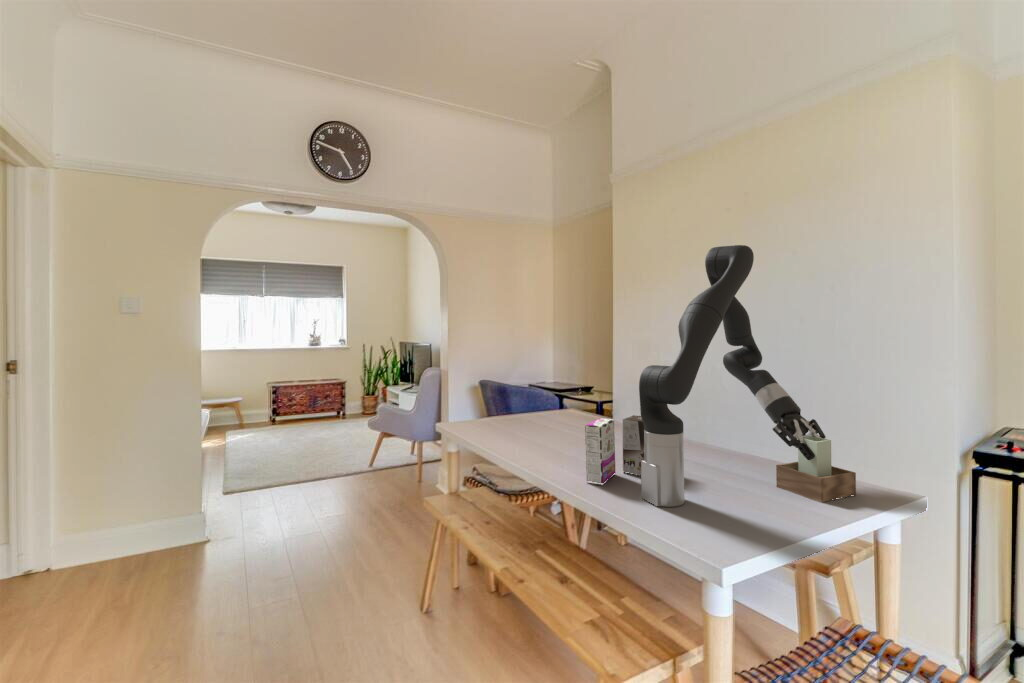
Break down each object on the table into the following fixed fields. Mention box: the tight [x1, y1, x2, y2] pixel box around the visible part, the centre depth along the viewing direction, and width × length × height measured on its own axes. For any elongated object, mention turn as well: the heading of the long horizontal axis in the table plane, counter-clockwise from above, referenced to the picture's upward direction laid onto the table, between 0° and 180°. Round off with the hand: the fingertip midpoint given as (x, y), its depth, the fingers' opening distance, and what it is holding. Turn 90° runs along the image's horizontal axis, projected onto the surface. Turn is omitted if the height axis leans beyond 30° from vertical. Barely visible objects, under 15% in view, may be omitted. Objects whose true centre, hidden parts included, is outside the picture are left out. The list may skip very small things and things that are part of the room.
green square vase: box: [797, 436, 832, 477], centre depth 113 cm, size 5×5×10 cm
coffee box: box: [622, 414, 644, 476], centre depth 132 cm, size 9×6×16 cm
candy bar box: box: [584, 417, 616, 483], centre depth 125 cm, size 11×5×16 cm, turn 148°
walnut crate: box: [775, 461, 857, 503], centre depth 113 cm, size 12×12×6 cm
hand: (819, 457), depth 111 cm, fingers closed on green square vase, 5 cm apart
